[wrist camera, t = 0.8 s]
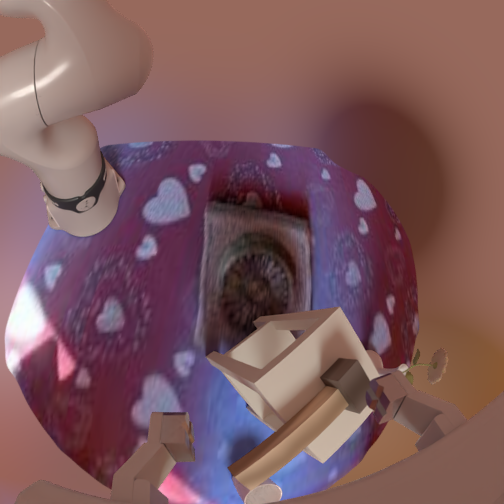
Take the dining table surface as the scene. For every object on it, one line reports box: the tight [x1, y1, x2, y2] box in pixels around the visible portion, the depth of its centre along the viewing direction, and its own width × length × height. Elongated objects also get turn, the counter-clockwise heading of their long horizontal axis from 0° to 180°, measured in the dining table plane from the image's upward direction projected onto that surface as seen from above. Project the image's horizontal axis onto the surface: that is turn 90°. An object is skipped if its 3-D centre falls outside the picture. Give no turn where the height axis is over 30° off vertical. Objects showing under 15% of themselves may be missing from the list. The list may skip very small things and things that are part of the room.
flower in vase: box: [366, 347, 449, 384], centre depth 50 cm, size 13×11×25 cm
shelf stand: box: [206, 307, 380, 463], centre depth 40 cm, size 16×14×26 cm
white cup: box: [232, 476, 282, 504], centre depth 39 cm, size 8×8×10 cm
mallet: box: [228, 358, 370, 491], centre depth 24 cm, size 6×18×4 cm, turn 126°
